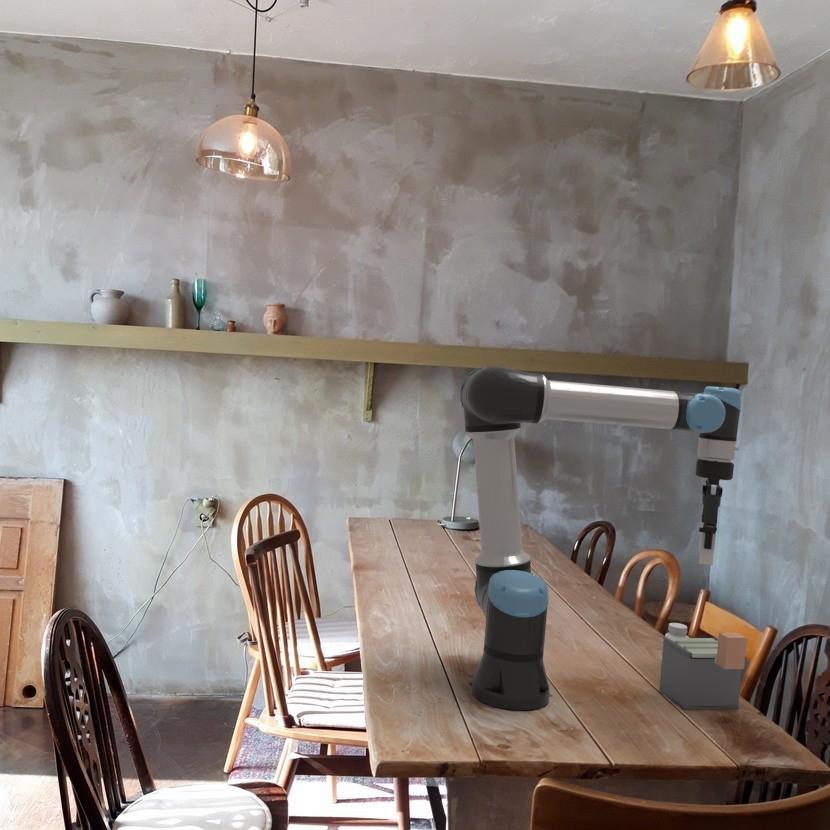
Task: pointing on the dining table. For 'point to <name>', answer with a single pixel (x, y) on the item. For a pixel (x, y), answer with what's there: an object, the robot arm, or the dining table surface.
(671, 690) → the tub
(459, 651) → the dining table surface
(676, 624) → the pill bottle
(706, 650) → the green and tan block
